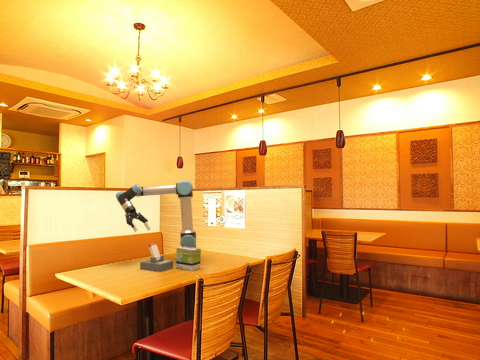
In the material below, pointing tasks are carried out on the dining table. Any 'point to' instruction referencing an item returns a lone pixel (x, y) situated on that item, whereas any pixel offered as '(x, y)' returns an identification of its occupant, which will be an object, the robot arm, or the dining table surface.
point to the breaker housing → (156, 264)
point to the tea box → (188, 258)
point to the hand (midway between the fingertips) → (143, 230)
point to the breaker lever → (154, 251)
